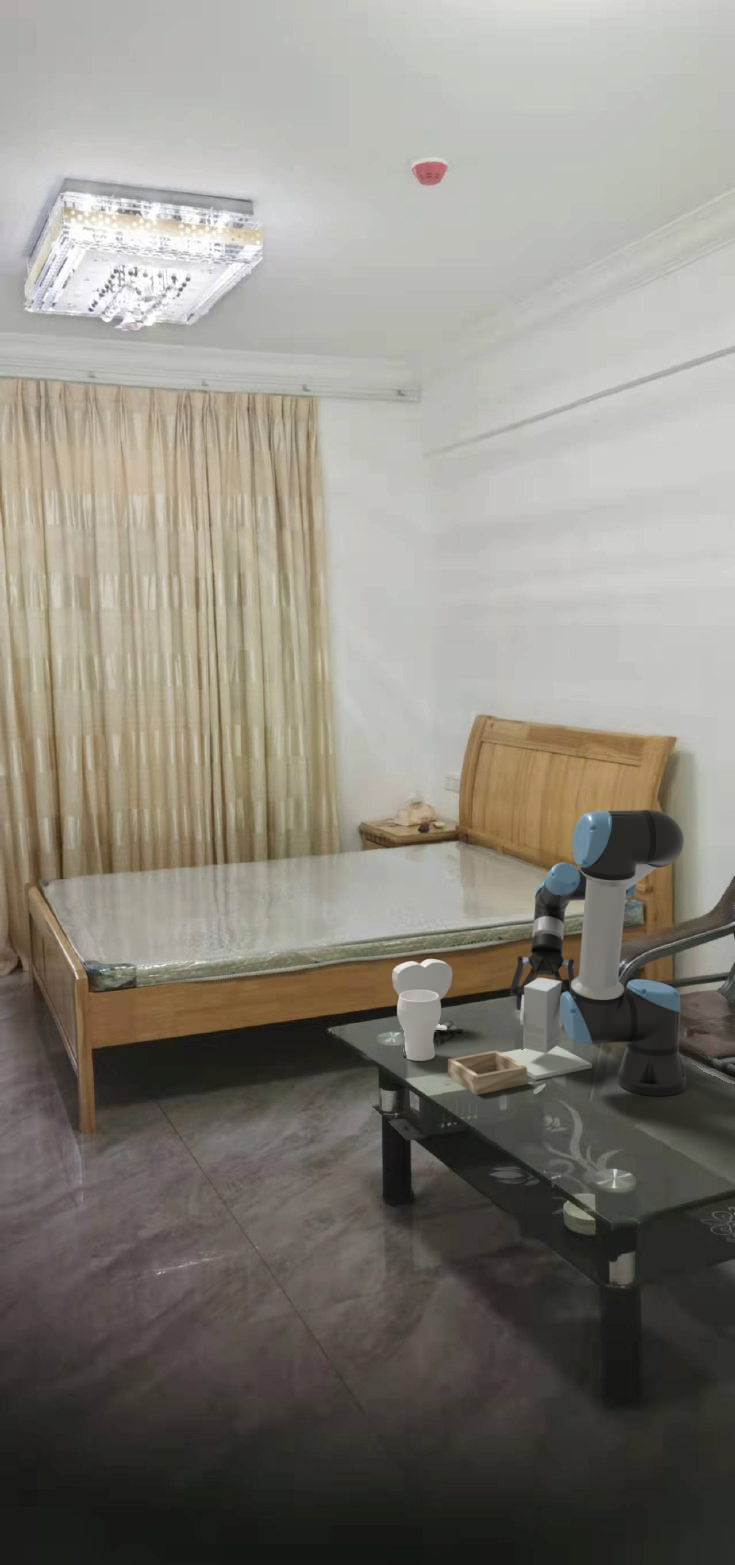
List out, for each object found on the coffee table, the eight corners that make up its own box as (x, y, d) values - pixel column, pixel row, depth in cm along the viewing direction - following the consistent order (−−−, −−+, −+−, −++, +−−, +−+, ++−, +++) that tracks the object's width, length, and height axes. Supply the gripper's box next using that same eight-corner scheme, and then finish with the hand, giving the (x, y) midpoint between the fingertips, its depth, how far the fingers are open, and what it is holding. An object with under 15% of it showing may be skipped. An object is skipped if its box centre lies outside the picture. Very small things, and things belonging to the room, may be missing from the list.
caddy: (526, 1084, 266) (526, 1067, 266) (476, 1094, 260) (476, 1077, 260) (496, 1066, 277) (496, 1050, 276) (447, 1076, 271) (447, 1059, 270)
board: (591, 1067, 276) (591, 1063, 276) (535, 1079, 269) (535, 1075, 268) (551, 1046, 290) (551, 1042, 290) (497, 1057, 283) (497, 1053, 283)
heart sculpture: (445, 1022, 308) (445, 956, 306) (453, 1028, 303) (453, 961, 301) (390, 1030, 303) (390, 962, 300) (398, 1036, 298) (398, 967, 296)
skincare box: (538, 1038, 284) (538, 976, 282) (563, 1043, 281) (563, 980, 278) (522, 1048, 278) (522, 985, 275) (547, 1054, 274) (547, 989, 272)
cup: (437, 1064, 278) (437, 1003, 276) (393, 1061, 280) (393, 1001, 278) (443, 1049, 288) (443, 990, 287) (401, 1046, 291) (401, 987, 289)
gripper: (591, 949, 289) (587, 1034, 275) (505, 944, 294) (497, 1027, 280) (590, 934, 283) (586, 1019, 270) (503, 929, 288) (494, 1013, 274)
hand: (541, 1023), depth 275 cm, fingers closed on skincare box, 8 cm apart
